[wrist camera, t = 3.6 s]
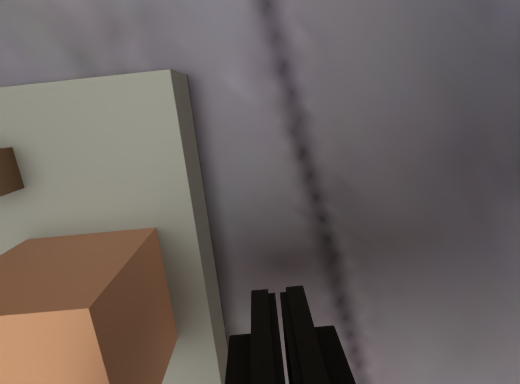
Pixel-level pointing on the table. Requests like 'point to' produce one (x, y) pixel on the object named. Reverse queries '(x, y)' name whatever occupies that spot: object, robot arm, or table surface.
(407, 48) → the table surface
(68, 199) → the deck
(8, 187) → the channel walls
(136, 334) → the block
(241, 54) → the table surface
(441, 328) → the table surface
